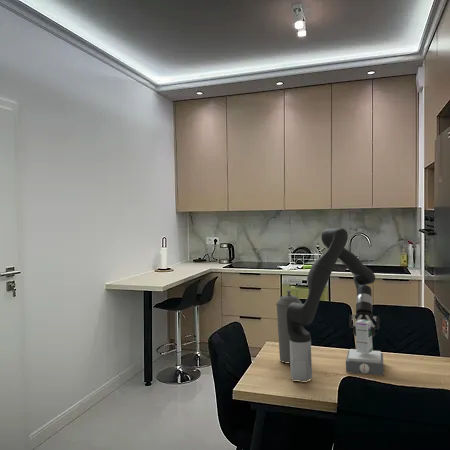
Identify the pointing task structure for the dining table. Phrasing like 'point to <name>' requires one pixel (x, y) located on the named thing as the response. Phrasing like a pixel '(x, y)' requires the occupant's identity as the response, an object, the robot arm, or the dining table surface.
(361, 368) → the kitchen scale
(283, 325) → the canister
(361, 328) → the syrup box
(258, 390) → the dining table surface
